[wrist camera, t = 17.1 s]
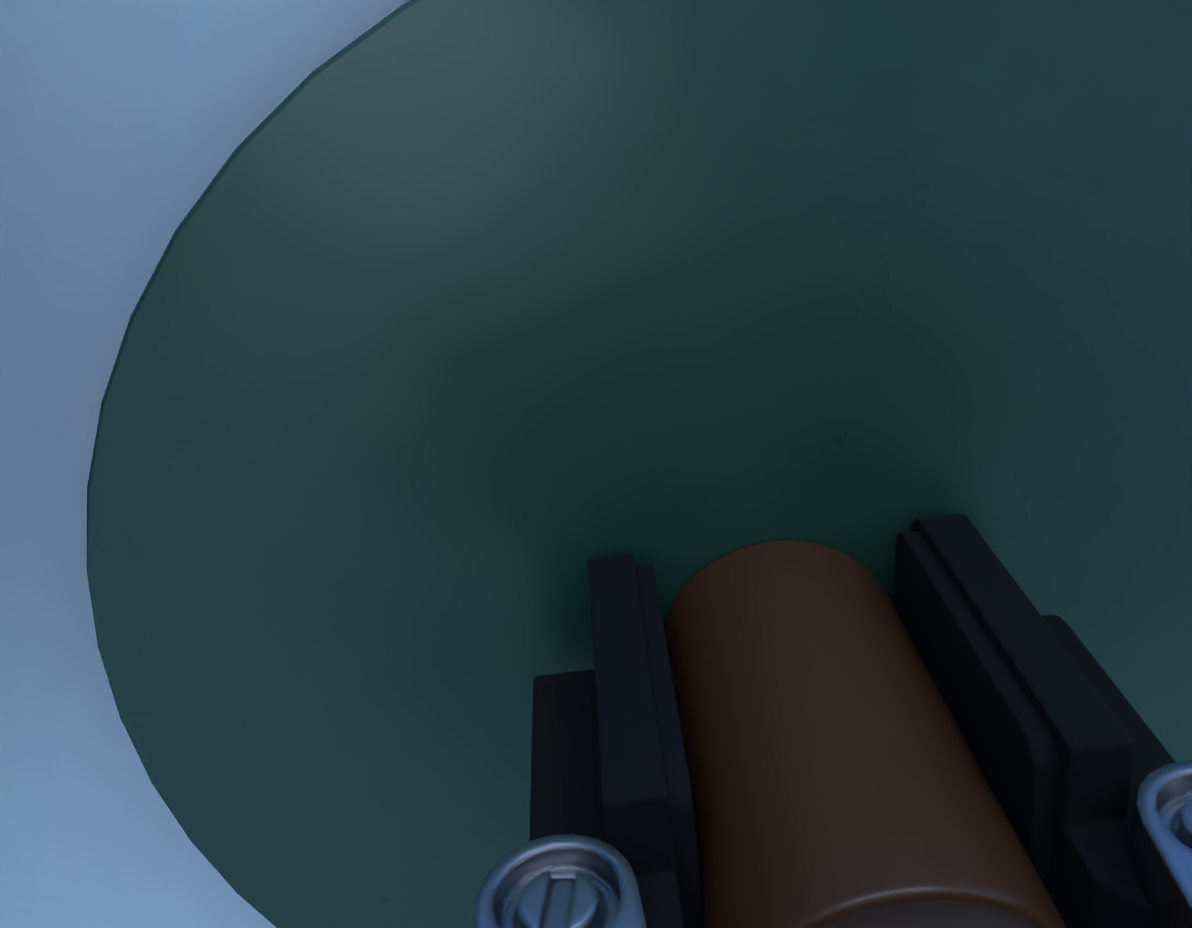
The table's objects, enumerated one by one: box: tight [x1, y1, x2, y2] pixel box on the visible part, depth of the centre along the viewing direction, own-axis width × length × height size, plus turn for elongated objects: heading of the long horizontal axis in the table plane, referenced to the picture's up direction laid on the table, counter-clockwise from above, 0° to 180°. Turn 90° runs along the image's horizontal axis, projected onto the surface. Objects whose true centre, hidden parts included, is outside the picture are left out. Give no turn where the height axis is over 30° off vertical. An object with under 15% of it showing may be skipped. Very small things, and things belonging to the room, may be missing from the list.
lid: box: [87, 0, 1192, 928], centre depth 11 cm, size 16×16×6 cm
